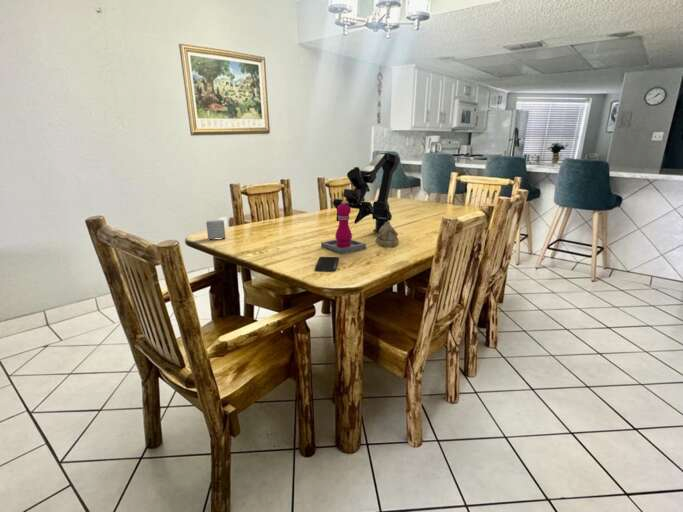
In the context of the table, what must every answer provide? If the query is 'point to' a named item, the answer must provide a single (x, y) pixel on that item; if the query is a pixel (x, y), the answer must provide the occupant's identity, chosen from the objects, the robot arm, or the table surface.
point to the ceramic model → (387, 235)
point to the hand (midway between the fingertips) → (345, 222)
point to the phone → (327, 264)
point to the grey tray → (333, 247)
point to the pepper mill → (343, 226)
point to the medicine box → (215, 229)
